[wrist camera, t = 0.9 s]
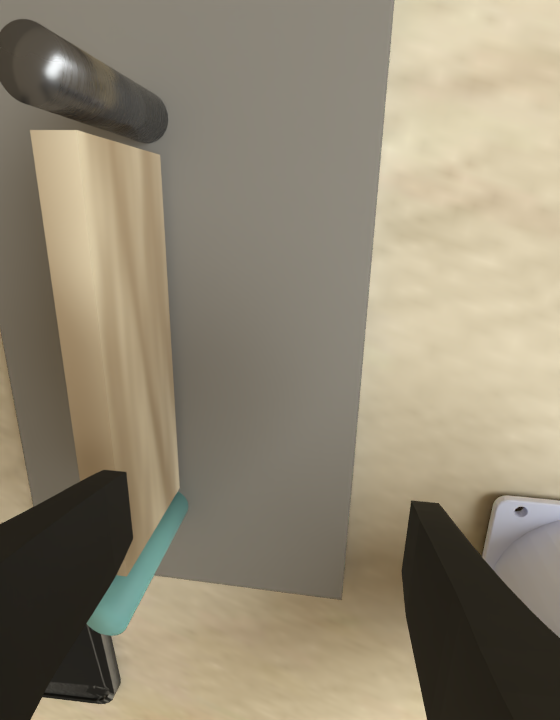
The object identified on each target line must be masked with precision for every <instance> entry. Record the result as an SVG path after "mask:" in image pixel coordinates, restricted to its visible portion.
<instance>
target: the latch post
mask: <svg viewBox="0 0 560 720" xmlns="http://www.w3.org/2000/svg"><path fill="white" fill-rule="evenodd" d="M187 511H188V502H187V500H186V498H185V497H184V495H182V494H181V493H180V492H177V493H176V495H175V497H174V498H173V500H172V502H171V504H170V505H169V507H168V509H167V510H166V512H165V514H164V515H163V517H162V519H161V520H160V522H159V524H158V525H157V527H156V529H155V530H154V532H153V534H152V535H151V537H150V539H149V540H148V542H147V544H146V546H145V547H144V549H143V551H142V552H141V554H140V556H139V557H138V559H137V561H136V562H135V564H134V566H133V567H132V569H131V571H130V572H129V574H128V576H127V577H126V576H119V575H116V577H115V579H114V580H113V582H112V584H111V585H110V587H109V588H108V590H107V592H106V593H105V595H104V596H103V598H102V600H101V601H100V603H99V605H98V606H97V608H96V609H95V611H94V612H93V614H92V616H91V617H90V619H89V620H88V622H87V625H88V626H89V627H90V628H92V629H93V630H94V631H96V632H98V633H100V634H104V635H109V636H113V635H118V634H121V633H122V632H123V631H124V630H125V629H126V628H127V626H128V624H129V622H130V620H131V618H132V616H133V614H134V612H135V610H136V608H137V607H138V605H139V603H140V601H141V599H142V597H143V595H144V593H145V591H146V589H147V587H148V586H149V584H150V582H151V580H152V578H153V576H154V574H155V572H156V570H157V568H158V566H159V565H160V563H161V561H162V559H163V557H164V555H165V553H166V551H167V549H168V547H169V545H170V544H171V542H172V540H173V538H174V536H175V534H176V532H177V530H178V528H179V526H180V524H181V523H182V521H183V519H184V517H185V515H186V513H187Z"/></svg>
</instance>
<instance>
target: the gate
mask: <svg viewBox="0 0 560 720" xmlns="http://www.w3.org/2000/svg"><path fill="white" fill-rule="evenodd" d="M30 134H31V141H32V148H33V155H34V162H35V169H36V176H37V183H38V190H39V197H40V204H41V211H42V218H43V225H44V232H45V239H46V246H47V253H48V260H49V267H50V274H51V281H52V288H53V295H54V302H55V309H56V316H57V323H58V330H59V337H60V344H61V351H62V358H63V365H64V372H65V379H66V386H67V393H68V400H69V407H70V414H71V421H72V428H73V435H74V442H75V449H76V456H77V463H78V470H79V477H80V481H82V480H84V479H86V478H87V477H89V476H91V475H93V474H95V473H98V472H100V471H102V470H112V471H122V472H126V473H127V482H128V492H129V502H130V511H131V521H132V530H133V540H132V543H131V545H130V547H129V549H128V552H127V554H126V556H125V558H124V560H123V563H122V565H121V567H120V569H119V571H118V573H117V575H119V576H126V577H127V576H128V574H129V572H130V571H131V569H132V567H133V566H134V564H135V562H136V561H137V559H138V557H139V556H140V554H141V552H142V551H143V549H144V547H145V546H146V544H147V542H148V540H149V539H150V537H151V535H152V534H153V532H154V530H155V529H156V527H157V525H158V524H159V522H160V520H161V519H162V517H163V515H164V514H165V512H166V510H167V509H168V507H169V505H170V504H171V502H172V500H173V498H174V497H175V495H176V493H177V492H178V490H179V488H180V484H179V467H178V450H177V433H176V416H175V399H174V382H173V365H172V348H171V331H170V314H169V297H168V280H167V263H166V246H165V229H164V212H163V195H162V177H161V160H160V155H159V154H156V153H152V152H149V151H145V150H142V149H139V148H135V147H132V146H129V145H125V144H122V143H119V142H115V141H112V140H109V139H105V138H102V137H98V136H95V135H92V134H88V133H85V132H82V131H78V130H30Z"/></svg>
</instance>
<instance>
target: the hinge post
mask: <svg viewBox="0 0 560 720" xmlns="http://www.w3.org/2000/svg"><path fill="white" fill-rule="evenodd" d="M0 82H1V84H2V85H3V87H4V88H5V90H6V91H7V92H8V93H9V94H10V95H11V96H12V97H13V98H15V99H16V100H18V101H19V102H21V103H24V104H27V105H30V106H33V107H36V108H39V109H42V110H45V111H48V112H51V113H54V114H57V115H60V116H63V117H66V118H69V119H72V120H75V121H78V122H81V123H84V124H87V125H90V126H93V127H96V128H99V129H102V130H105V131H108V132H111V133H114V134H117V135H120V136H123V137H126V138H129V139H132V140H135V141H138V142H142V143H153V142H156V141H158V140H159V139H160V138H161V137H162V136H163V135H164V133H165V131H166V129H167V125H168V113H167V109H166V107H165V105H164V103H163V101H162V100H161V99H160V98H159V97H158V96H157V95H156V94H154V93H152V92H151V91H149V90H147V89H146V88H144V87H142V86H141V85H139V84H137V83H136V82H134V81H133V80H131V79H129V78H128V77H126V76H124V75H123V74H121V73H119V72H118V71H116V70H114V69H113V68H111V67H110V66H108V65H106V64H105V63H103V62H101V61H100V60H98V59H96V58H95V57H93V56H91V55H90V54H88V53H87V52H85V51H83V50H82V49H80V48H78V47H77V46H75V45H73V44H72V43H70V42H68V41H67V40H65V39H64V38H62V37H60V36H59V35H57V34H55V33H54V32H52V31H50V30H49V29H47V28H45V27H44V26H42V25H41V24H39V23H37V22H35V21H32V20H28V19H17V20H14V21H12V22H10V23H8V24H7V25H6V26H5V27H4V28H3V29H2V30H1V31H0Z"/></svg>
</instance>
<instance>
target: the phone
mask: <svg viewBox="0 0 560 720" xmlns="http://www.w3.org/2000/svg"><path fill="white" fill-rule="evenodd" d="M120 683H121V682H120V674H119V670H118V665H117V661H116V656H115V652H114V648H113V643H112V639H111V636H109V635H104V634H100V633H98V632H96V631H94V630H93V629H92V628H90V627H89V626H88V625H87V624H86V625H85V627H84V628H83V630H82V631H81V633H80V635H79V636H78V638H77V639H76V641H75V642H74V644H73V646H72V647H71V649H70V650H69V652H68V654H67V655H66V657H65V658H64V660H63V661H62V663H61V665H60V666H59V668H58V670H57V671H56V673H55V675H54V676H53V678H52V680H51V682H50V683H49V685H48V687H47V688H46V690H45V692H44V694H43V696H42V697H46V698H55V699H63V700H71V701H80V702H88V703H96V704H105V703H109V702H110V701H112V700H113V698H114V695H115V693H116V691H117V689H118V687H119V685H120Z"/></svg>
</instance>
